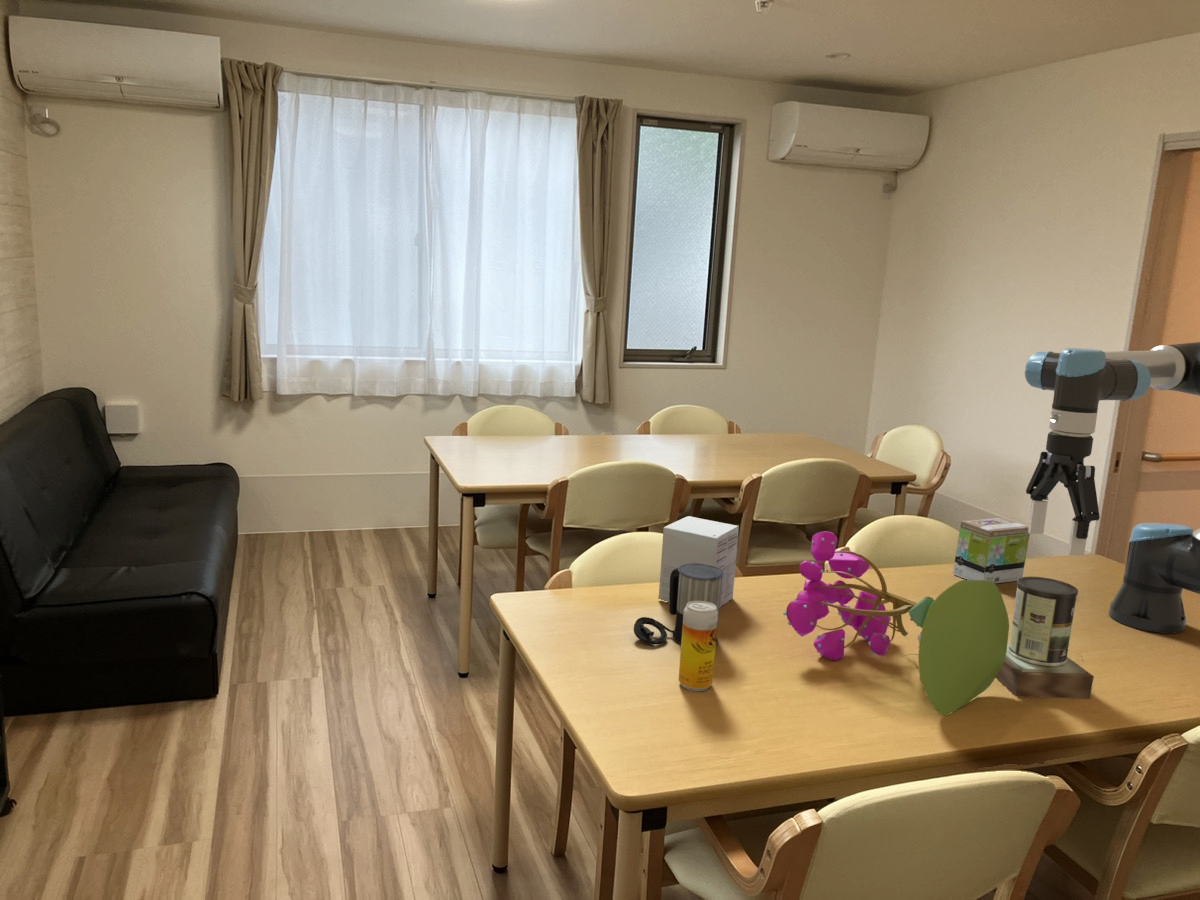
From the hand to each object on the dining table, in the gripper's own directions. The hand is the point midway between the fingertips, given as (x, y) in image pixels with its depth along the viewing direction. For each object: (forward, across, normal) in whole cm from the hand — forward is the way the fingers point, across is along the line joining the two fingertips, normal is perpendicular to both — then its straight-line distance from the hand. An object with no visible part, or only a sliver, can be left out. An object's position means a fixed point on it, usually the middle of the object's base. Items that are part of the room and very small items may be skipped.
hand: (1054, 543), depth 171 cm
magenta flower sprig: (+26, -2, -30) cm, 40 cm away
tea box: (+27, -58, +20) cm, 67 cm away
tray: (+26, +3, -2) cm, 27 cm away
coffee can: (+21, +3, -2) cm, 22 cm away
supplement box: (+26, -36, -61) cm, 75 cm away
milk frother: (+26, -12, -69) cm, 75 cm away
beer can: (+26, +8, -68) cm, 74 cm away
